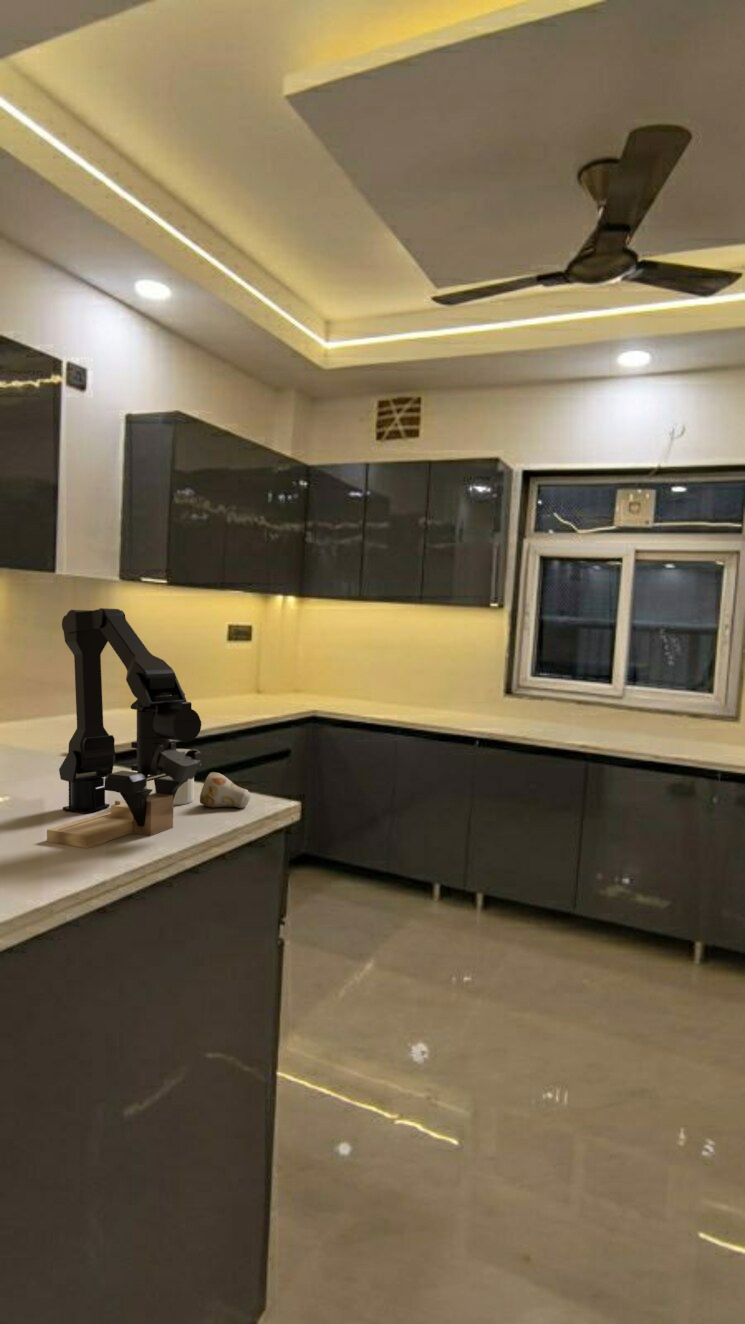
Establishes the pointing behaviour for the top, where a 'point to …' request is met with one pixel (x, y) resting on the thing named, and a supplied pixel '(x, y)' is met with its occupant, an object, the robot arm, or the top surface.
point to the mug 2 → (184, 789)
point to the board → (91, 830)
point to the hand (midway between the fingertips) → (153, 822)
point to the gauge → (150, 814)
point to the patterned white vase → (222, 792)
